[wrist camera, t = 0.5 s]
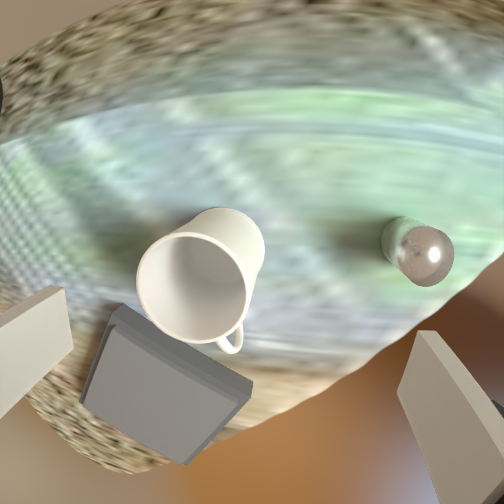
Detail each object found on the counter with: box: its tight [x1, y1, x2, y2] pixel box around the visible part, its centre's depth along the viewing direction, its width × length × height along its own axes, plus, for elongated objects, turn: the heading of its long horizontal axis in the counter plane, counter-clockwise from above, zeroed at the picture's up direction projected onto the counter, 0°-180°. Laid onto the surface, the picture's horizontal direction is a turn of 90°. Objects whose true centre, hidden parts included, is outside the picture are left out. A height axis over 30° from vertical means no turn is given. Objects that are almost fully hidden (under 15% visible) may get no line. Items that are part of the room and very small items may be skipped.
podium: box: [79, 303, 253, 465], centre depth 36 cm, size 18×18×4 cm
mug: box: [136, 207, 265, 354], centre depth 27 cm, size 12×8×12 cm
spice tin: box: [380, 217, 454, 287], centre depth 27 cm, size 5×5×7 cm
